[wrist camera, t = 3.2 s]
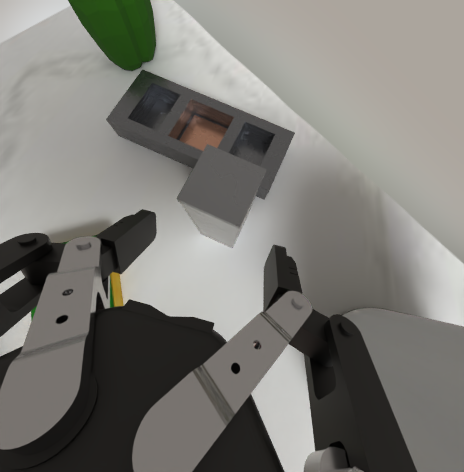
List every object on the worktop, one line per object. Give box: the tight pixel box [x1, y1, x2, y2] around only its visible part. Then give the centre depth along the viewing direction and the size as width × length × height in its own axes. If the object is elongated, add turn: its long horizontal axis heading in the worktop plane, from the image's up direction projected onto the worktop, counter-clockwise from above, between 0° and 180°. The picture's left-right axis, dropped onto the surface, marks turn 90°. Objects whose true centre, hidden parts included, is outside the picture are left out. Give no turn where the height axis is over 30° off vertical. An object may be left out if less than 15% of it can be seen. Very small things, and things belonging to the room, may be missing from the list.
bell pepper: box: [68, 0, 156, 71], centre depth 20 cm, size 8×8×10 cm
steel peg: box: [177, 144, 267, 248], centre depth 16 cm, size 4×4×10 cm
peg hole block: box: [106, 70, 295, 199], centre depth 21 cm, size 20×8×2 cm, turn 65°
